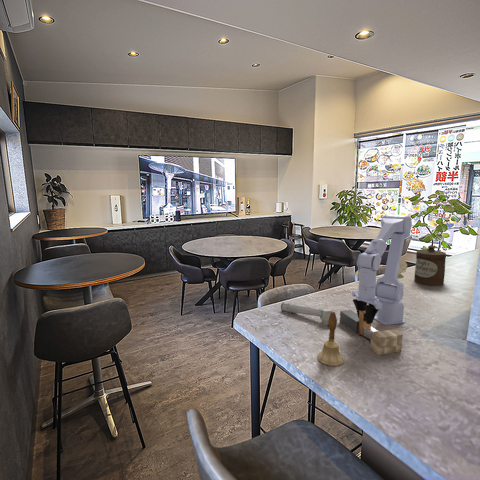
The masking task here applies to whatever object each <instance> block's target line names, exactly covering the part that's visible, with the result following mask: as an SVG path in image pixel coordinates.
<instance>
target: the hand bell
mask: <svg viewBox="0 0 480 480" xmlns="http://www.w3.org/2000/svg"><path fill="white" fill-rule="evenodd" d="M337 324H338V319H337V314H336V312H335V311H333V312H331V314H330V317H329V321H328V325H327V326H328V329H329V330H328V331H329V334H328V340H325V341H324V343H323V346H322V350H321V351H320V352H319V353H318V354H317V357H316V358H317V360H318V361H319V362H320V363H322V364H323V365H326V366H330V367H340V366H341V365H343V364H344V362H345V360H344V356H342V355H341V353H340V347H339V343H338V342H337V341H335V332H336V328H337Z"/></svg>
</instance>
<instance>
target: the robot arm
mask: <svg viewBox="0 0 480 480" xmlns="http://www.w3.org/2000/svg"><path fill="white" fill-rule="evenodd" d="M412 224H413V223H412V217H411V216H410V215H409V214H408V215H407V214H406V215H399V214H398V215H397V214H396V215H395V214H384V215H383V216H382V217H381V221H380V225H381V226H380V227H381V228H380V230H379V233H378V235H377V237H376V238H374V239H371V241H370V243H369V244H368V246H367V248H366V249H365V250H364V252H362V253H359V254H358V256H357V259H356V266H357V272H358V273H359V274H358V290H352V292H351V295H352V297H355V298H353V299H352V302H353V304H354V306H355V309H356V313H357V314H358V318H359V310H365V313H366V323H367V324H371V325H372V324H373V322H374V320H375V321H378V322H379V323H381V324H383V325H385V326H390V325H396V324H402V323H403V324H404V323H405V321H404V311H405V306H404V303H403V301H402V299H403V297H404V283H403V282H402V281H401V280H400V278H399V279H398V278H397V277H398V271H399V266H400V261H401V258H402V255H403V249H404V245H405V240H406V239H407V238H409V237H410V234H411V230H412V226H413V225H412ZM389 239H390V243H389V248H388V254H387V259H386V263H385V268H384V274H383V276H381V277H378V278H377V272H378V270H379V268H380V267H381V263H382V256H383V254H384V253H385V251H386V250H387V246H388V245H387V242H388V241H389ZM384 283H390V284H391V285H389V284H384ZM377 299H378V300H377Z"/></svg>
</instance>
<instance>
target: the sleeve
mask: <svg viewBox="0 0 480 480" xmlns="http://www.w3.org/2000/svg"><path fill="white" fill-rule="evenodd" d="M339 323H341V324H342V325H343V326H345V327H346V328H347V329H348V330H350V331H352V332H353V333H355V335H356V334H358V335H359V333H358V323H359V318H358V314H357V312H355V311H354V310H352V309H344V310H340V313H339Z"/></svg>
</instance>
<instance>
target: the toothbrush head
mask: <svg viewBox="0 0 480 480" xmlns="http://www.w3.org/2000/svg"><path fill="white" fill-rule="evenodd" d="M280 310H281V311H282V312H287V313H294V314H300V315H306V316H307V315H308V316H315V317H320V320H321V321H320V322H321V324H323V325H324V326H329V325H328V321H329V317H330V314H331V312H334V311H333V310H332V309H331V308H319V307H317V308H316V307H313V306H309V305H303V304H302V305H301V304H296V303H292V302H281V305H280Z"/></svg>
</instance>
